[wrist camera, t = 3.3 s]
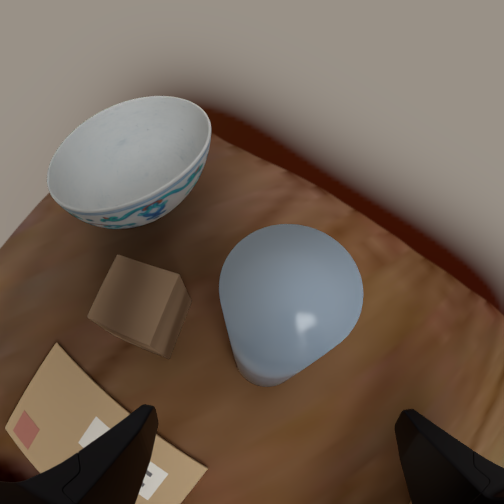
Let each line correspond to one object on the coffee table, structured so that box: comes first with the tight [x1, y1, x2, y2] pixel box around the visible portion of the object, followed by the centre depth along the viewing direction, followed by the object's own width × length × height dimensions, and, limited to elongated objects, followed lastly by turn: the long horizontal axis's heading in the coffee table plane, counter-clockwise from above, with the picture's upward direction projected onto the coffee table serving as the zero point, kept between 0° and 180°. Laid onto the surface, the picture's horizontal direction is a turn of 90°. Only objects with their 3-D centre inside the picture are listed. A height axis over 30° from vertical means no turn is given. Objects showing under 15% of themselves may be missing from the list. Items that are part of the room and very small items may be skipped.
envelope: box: [5, 343, 208, 504], centre depth 15 cm, size 16×12×1 cm
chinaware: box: [47, 96, 211, 229], centre depth 25 cm, size 15×15×8 cm
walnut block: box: [87, 254, 192, 359], centre depth 20 cm, size 5×5×5 cm
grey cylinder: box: [219, 224, 363, 387], centre depth 15 cm, size 5×5×13 cm
